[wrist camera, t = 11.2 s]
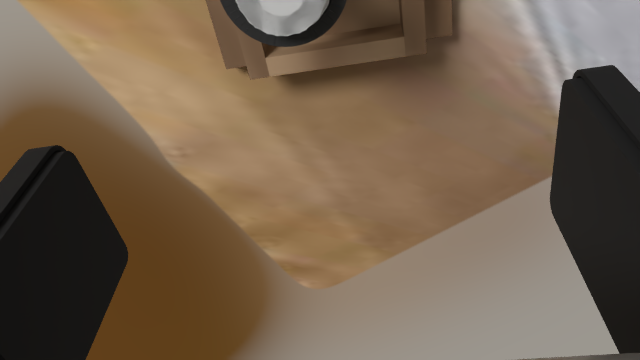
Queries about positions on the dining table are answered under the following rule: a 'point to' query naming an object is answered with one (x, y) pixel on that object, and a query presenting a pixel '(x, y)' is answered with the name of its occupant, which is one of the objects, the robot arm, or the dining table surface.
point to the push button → (284, 19)
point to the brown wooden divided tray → (339, 37)
